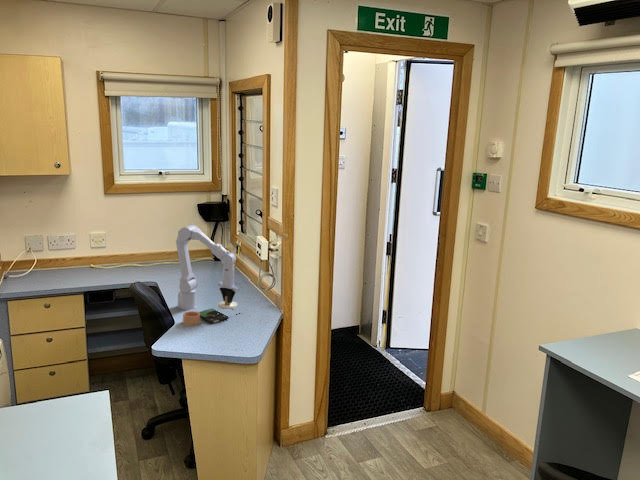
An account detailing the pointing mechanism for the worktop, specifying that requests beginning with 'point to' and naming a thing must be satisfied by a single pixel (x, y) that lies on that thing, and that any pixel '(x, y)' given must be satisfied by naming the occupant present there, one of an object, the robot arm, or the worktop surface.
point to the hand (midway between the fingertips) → (227, 301)
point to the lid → (227, 304)
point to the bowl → (191, 318)
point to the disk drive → (212, 316)
